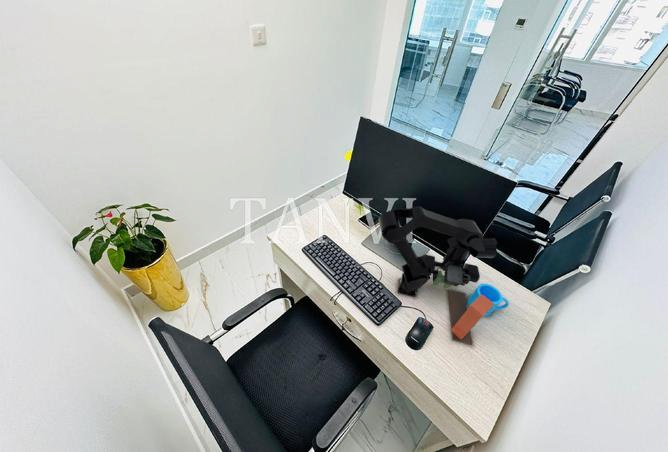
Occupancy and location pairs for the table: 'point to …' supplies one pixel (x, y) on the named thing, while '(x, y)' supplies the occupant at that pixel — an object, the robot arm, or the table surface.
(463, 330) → the letter I
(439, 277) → the green knobbly lump
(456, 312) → the board
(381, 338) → the table surface
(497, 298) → the mug
